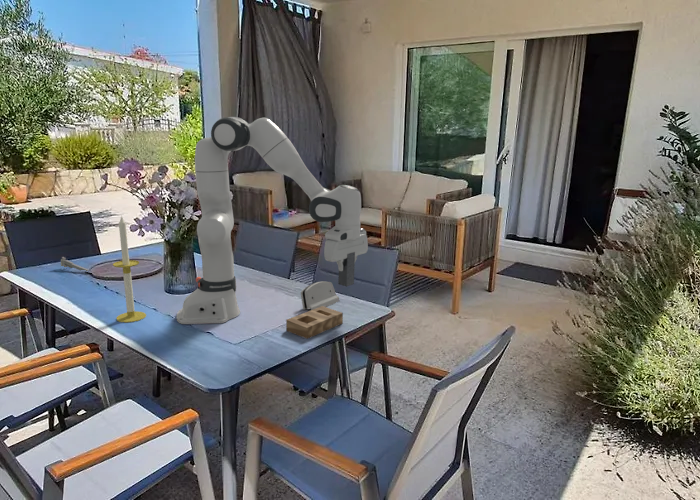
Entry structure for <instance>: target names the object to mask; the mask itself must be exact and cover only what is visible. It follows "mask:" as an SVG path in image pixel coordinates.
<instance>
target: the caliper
mask: <svg viewBox="0 0 700 500" xmlns="http://www.w3.org/2000/svg"><path fill="white" fill-rule="evenodd" d="M61 266H64V267H67V268H70V269H73V268H74V269H76V270H78V271H81V270H86V271H88V270H89V269H88V268H85V267H83V266H80V265H78V264H76V263H74V262H72V261H70V260H68V259H67V258H66V257H64V256H61V259H60V267H61Z"/></svg>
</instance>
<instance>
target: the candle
mask: <svg viewBox="0 0 700 500" xmlns="http://www.w3.org/2000/svg"><path fill="white" fill-rule="evenodd" d="M120 216H121V217H120V221H119V222H118V229H119V238H120V239H119V241H120V248H121V258H122V260H119V261H116V262H114V263H113V264H112V266H113V267H114V268H120V269H121V268H122V275H123V285H124V296H125V304H126V305H125V306H126V312H124V313H121V314H119V315H117V316H116V319H117V320H116V319H115V320H116V321H117V322H118V323H123V322H124V323H127V324H128V323H134V322H135V321H136V322H139V321H141V319H142V320H143V319H145V318H146V317H147V314H146V312H143V311H135V300H134V291H133V281H132V271H131V268H132V267H135V266H138V265H139V264H140V262H139V260H136V259H130V256H129V246H128V245H129V244H128V236H127V234H128V233H127V223H126V221H125V220H124V219H123V216H122V215H120ZM124 323H123V324H124Z"/></svg>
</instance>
